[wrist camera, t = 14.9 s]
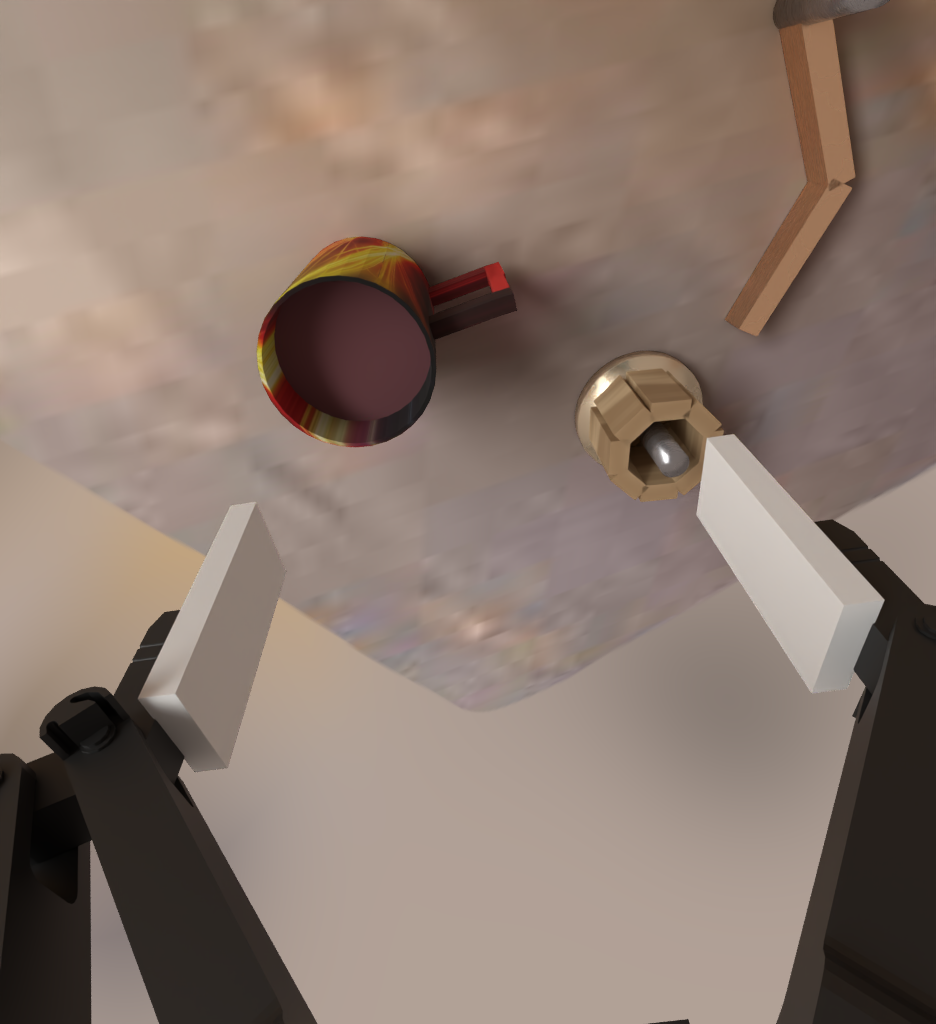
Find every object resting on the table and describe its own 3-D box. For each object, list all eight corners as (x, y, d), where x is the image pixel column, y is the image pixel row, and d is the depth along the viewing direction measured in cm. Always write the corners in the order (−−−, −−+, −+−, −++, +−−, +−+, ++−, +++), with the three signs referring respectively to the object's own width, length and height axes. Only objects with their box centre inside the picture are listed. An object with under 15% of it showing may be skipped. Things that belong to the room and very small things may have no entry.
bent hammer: (777, -13, 32) (867, -49, 26) (880, -23, 32) (996, -61, 26) (719, 329, 43) (772, 365, 37) (797, 321, 43) (863, 356, 37)
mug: (504, 267, 40) (530, 314, 30) (374, 399, 45) (359, 476, 35) (402, 150, 36) (393, 159, 26) (270, 309, 41) (220, 368, 31)
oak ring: (591, 375, 44) (613, 407, 39) (696, 364, 44) (730, 395, 39) (587, 466, 48) (606, 505, 43) (682, 456, 48) (711, 494, 43)
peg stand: (576, 357, 44) (607, 404, 36) (705, 344, 44) (762, 389, 37) (573, 469, 50) (599, 530, 42) (687, 458, 50) (733, 517, 42)
